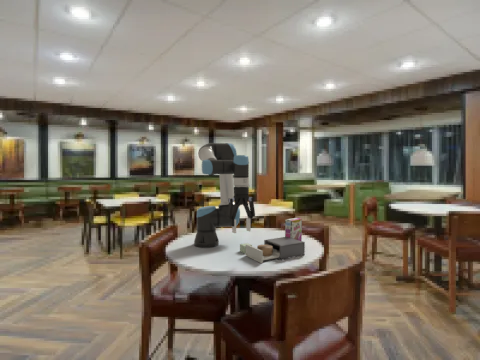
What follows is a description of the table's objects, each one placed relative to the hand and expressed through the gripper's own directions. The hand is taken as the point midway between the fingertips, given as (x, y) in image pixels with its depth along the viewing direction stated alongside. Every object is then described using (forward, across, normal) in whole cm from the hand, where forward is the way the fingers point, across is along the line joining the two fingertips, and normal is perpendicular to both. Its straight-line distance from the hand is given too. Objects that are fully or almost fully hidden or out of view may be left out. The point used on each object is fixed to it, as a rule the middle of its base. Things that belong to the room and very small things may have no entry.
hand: (241, 231), depth 146 cm
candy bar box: (+15, +42, +10) cm, 46 cm away
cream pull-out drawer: (+15, +15, 0) cm, 21 cm away
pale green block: (+15, +11, +14) cm, 23 cm away
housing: (+15, +27, 0) cm, 31 cm away
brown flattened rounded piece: (+14, +14, 0) cm, 20 cm away
